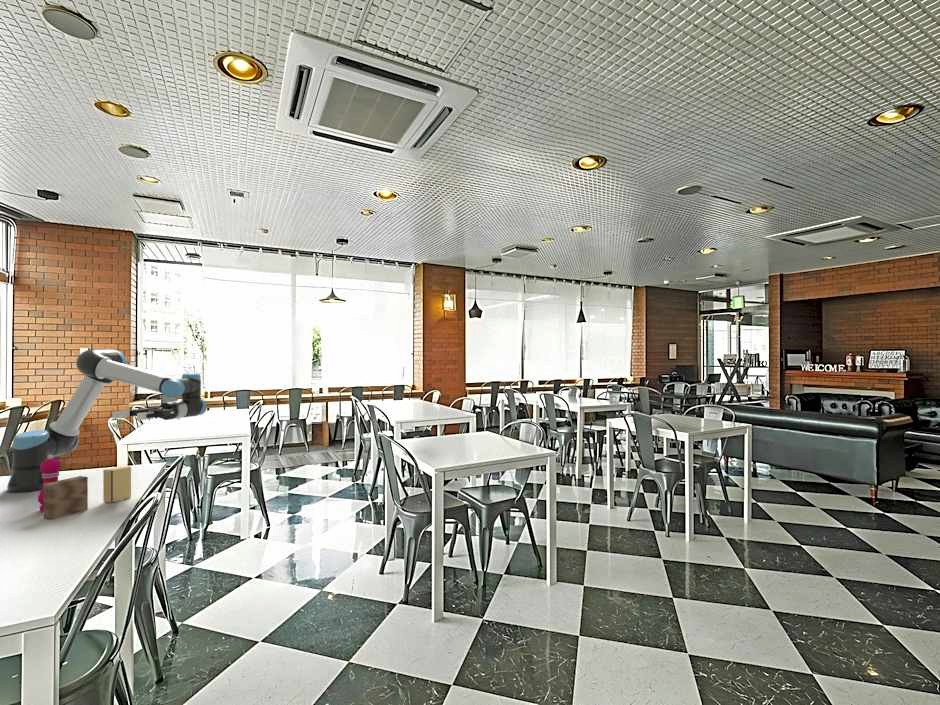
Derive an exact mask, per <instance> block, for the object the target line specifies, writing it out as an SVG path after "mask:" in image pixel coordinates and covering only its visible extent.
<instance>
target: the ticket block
mask: <svg viewBox="0 0 940 705" xmlns="http://www.w3.org/2000/svg"><path fill="white" fill-rule="evenodd" d="M88 479H89V478H88V476H84V475H83V476H82V475H79V476H74V477H70V478H65V479H61V480H58V481H55V482H50V483H46V484H43V486H44V512H43V519H44V520H48V521H49V520H50V521H53V520H57V519H60V518H63V517H67V516H71V515H74V514H78V513H81V512H85V511H86V512H87V511H88V510H89V508H88V507H89V506H88V505H89V504H88V501H89V499H88V498H89V497H88V496H89V492H88V491H89V490H88V486H89V483H88Z"/></svg>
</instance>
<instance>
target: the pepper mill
mask: <svg viewBox="0 0 940 705" xmlns="http://www.w3.org/2000/svg"><path fill="white" fill-rule="evenodd" d="M61 468H62V463H61V461H60V460H59V459H56V458H55V457H54V456H53V455H49V456H48V460H45V461H43V462H42V463H41V465H40V470H41V471H42V472H43V473H42V478H43V480H44V482H43V484H46V483H50V482H55V481H59V476H60V473H61V472H60V469H61ZM37 496H38V497H37V502H38V503H39V504H40V506H39V513H40V512H41V513H44V486H43V487H42V489H41V490H40V491H39V494H38V495H37Z"/></svg>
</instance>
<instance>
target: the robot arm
mask: <svg viewBox="0 0 940 705" xmlns="http://www.w3.org/2000/svg"><path fill="white" fill-rule="evenodd" d="M75 365H76V368H77V370H78V372H80V373H81V374H82V375H83V376H84V377H83V378H82V380H81V381H80V382H79V385H78V386H77V388H76V390H75V391H74V393H73V394H72V396H71V398H70V399H69V401H68V402H67V404H66V406H65V407H64V408H63V411H62V412H61V413H60V415H59V417H58V418H57V420H56V421H53V422H51V423H49V425H48V427H47V428H46V429H39V430H38V429H36V430H30V431H25V432H24V431H23V432H21V433H18V434H16V435H14V437H13V439H12V445H11V447H12V473H11V474H10V477H9V481H8V483H7V487H6V488H7V489H6V491H7V493H25V492H26V493H27V492H33V491H39V490H40V491H41V489H42V487H43V482H44V480H43V478H42V473H43V472H42V471H41V470H40V465H41V463H42V462H43V461H45V460H48V456H49V455H53V456H54V458H56V457H61V456H65V455H67V454H69V453H71V452H74V450H76V448H77V447H78V445H79V443H80V437H79V436H80V429H79V428H80V426H81V425H82V423H83V421H84V419H85V418H86V416H87V415H88V413H89V411H90V410H91V408H92V406H94V404H95V402H96V400H97V399H98V398H99V396H100V394H101V392H102V391H103V389H104V388H105V386H106V385H109V384H112V382H113V381H117V382H120V383H123V384H127V385H130V386H135V387H137V388H138V387H139V388H142V389H145V390H149V391H152V392H156V393H160V394H162V395H164V396H165V397H167V398H173V399H174V398H178V397H181V400H173V401H167V402H162V403H161V404H160V406H155V407H147V408H136V409H135V408H134V409H125V410H119V411H118V410H117V411H112V419H115V420H116V419H123V418H124V419H125V418H126V419H129V418H130V417H136V421H144V420H151V419H158V418H159V419H163V420H164V421H168V420H174V419H176V420H180V418H183V419H184V418H189V417H191V418H192V417H196V416H202V415H203V414H205V413H206V411H207V410H208V409H207V408H208V405H207V402H206V401H205V400H204V399H203V398H202V397H201V396H202V379H201V378H202V377H201V374H200V373H197V372H196V373H191V372H190V373H183V374H182V375H181V378H177V377H176V378H175V377H172V376H167V375H164V374H162V373H157V372H154V371H151V370H147V369H144V368H140V367H135V366H133V365H128V363H127V360H126V357H125V355H124V354H123V353H122V352H121V351H119V350H116V349H111V348H107V349H88V350H85V351H82V352H81V353H80V354H79V355H78V356H77V358H76V364H75Z"/></svg>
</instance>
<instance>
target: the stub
mask: <svg viewBox="0 0 940 705" xmlns="http://www.w3.org/2000/svg"><path fill="white" fill-rule="evenodd" d="M102 472H103V473H102V474H103V475H102V476H103V480H102V481H103V482H102V483H103V488H102V490H103V491H102V492H103V496H102V497H103V498H102V499H103V503H109V504H110V503H113V502H119V501H122V500H125V499H129V498H131V497H132V466H129V465H122V466H117V467H112V468H108V469H107V468H106V469H103V470H102Z"/></svg>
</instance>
